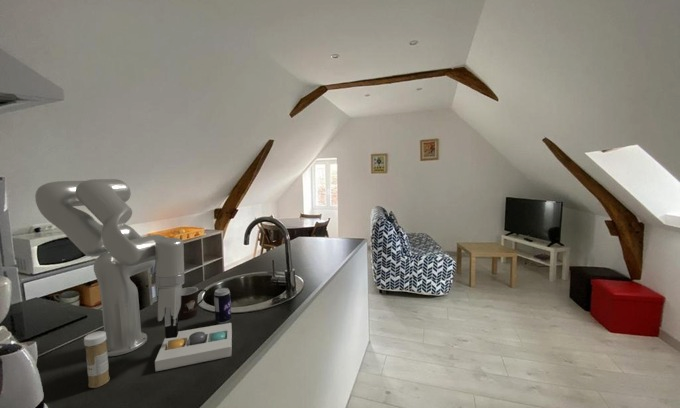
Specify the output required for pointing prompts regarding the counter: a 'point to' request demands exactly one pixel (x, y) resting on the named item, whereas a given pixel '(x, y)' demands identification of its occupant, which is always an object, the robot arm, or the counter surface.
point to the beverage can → (222, 305)
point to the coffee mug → (189, 302)
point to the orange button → (176, 344)
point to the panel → (195, 348)
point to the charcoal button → (197, 338)
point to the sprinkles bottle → (97, 359)
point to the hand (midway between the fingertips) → (171, 336)
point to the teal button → (217, 336)
